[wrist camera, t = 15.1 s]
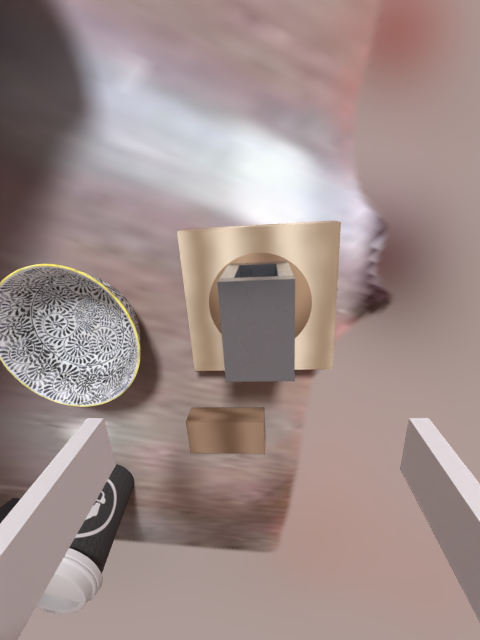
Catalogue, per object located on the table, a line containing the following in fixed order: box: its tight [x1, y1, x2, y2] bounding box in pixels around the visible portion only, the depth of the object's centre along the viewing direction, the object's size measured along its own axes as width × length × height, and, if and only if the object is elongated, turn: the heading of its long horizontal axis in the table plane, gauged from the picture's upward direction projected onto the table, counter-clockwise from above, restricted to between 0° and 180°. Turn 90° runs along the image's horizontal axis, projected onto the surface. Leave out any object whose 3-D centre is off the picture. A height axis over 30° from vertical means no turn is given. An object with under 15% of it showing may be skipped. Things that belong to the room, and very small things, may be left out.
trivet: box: [177, 221, 341, 371], centre depth 33 cm, size 16×16×3 cm
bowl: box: [0, 264, 141, 407], centre depth 34 cm, size 16×16×8 cm
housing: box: [217, 261, 295, 382], centre depth 28 cm, size 9×6×8 cm, turn 3°
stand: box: [186, 408, 265, 454], centre depth 40 cm, size 10×5×3 cm, turn 93°
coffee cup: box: [36, 464, 134, 614], centre depth 40 cm, size 10×10×15 cm
